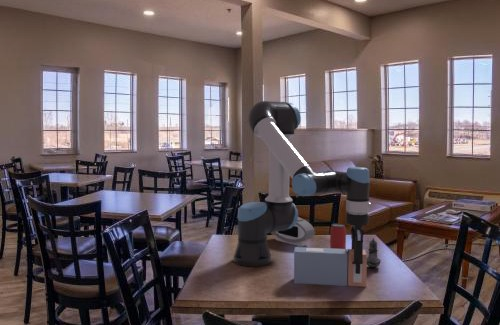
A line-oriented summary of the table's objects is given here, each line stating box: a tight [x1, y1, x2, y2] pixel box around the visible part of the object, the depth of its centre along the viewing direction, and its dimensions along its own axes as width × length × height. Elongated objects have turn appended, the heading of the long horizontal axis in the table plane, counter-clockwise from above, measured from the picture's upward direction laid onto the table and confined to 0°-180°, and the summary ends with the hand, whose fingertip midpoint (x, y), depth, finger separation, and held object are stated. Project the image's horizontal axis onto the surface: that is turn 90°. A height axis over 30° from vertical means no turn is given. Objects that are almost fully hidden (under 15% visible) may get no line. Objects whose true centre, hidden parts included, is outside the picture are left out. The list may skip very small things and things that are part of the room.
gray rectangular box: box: [293, 246, 348, 287], centre depth 147 cm, size 18×6×12 cm, turn 81°
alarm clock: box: [271, 216, 316, 247], centre depth 199 cm, size 23×6×13 cm, turn 43°
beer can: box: [329, 223, 347, 250], centre depth 183 cm, size 7×7×12 cm
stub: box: [346, 248, 368, 288], centre depth 145 cm, size 6×6×11 cm
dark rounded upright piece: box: [367, 238, 382, 271], centre depth 160 cm, size 6×6×12 cm
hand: (356, 278), depth 145 cm, fingers closed on stub, 6 cm apart
